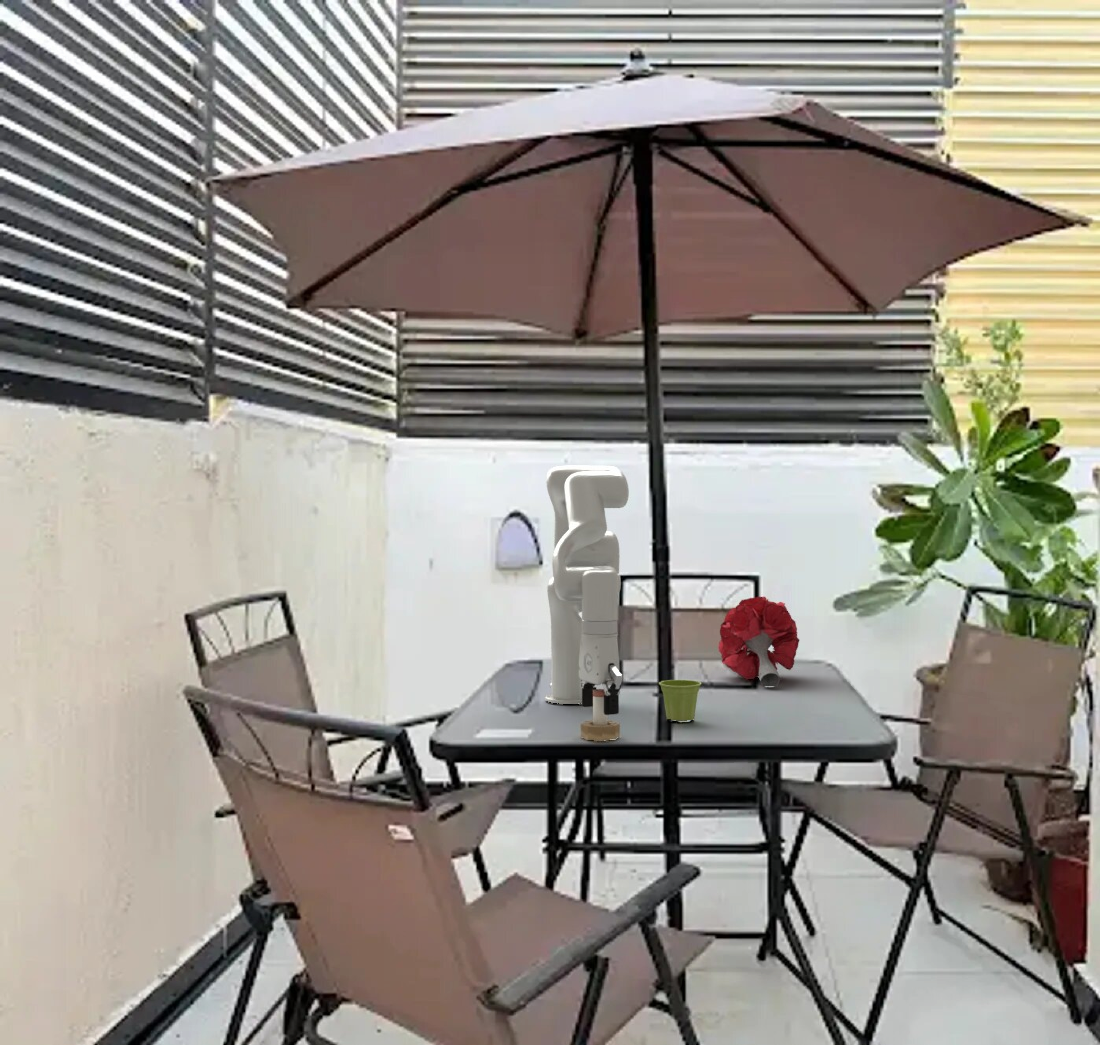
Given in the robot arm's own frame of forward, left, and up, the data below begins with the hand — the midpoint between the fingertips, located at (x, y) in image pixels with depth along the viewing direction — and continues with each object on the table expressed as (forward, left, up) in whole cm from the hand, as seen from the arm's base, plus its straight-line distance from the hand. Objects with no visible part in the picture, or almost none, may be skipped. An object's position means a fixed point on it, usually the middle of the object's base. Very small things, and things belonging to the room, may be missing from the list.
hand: (600, 710), depth 249 cm
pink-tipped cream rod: (0, 0, -6) cm, 6 cm away
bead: (0, 0, -6) cm, 6 cm away
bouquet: (-50, +76, -6) cm, 91 cm away
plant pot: (-9, +25, -6) cm, 27 cm away
